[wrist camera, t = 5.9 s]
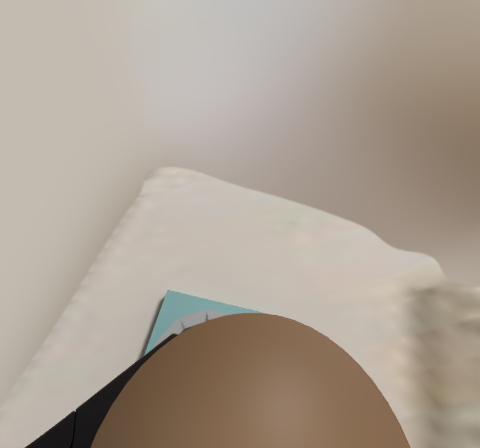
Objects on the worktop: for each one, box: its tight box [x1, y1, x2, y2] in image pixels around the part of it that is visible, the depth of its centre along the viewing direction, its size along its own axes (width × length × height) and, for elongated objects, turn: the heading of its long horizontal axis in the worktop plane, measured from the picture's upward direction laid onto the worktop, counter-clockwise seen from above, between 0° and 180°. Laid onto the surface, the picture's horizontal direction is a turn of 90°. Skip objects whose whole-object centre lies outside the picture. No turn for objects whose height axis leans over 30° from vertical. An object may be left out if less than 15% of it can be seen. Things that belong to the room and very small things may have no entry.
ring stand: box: [144, 290, 266, 355], centre depth 18 cm, size 10×10×4 cm
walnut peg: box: [91, 313, 410, 448], centre depth 8 cm, size 4×4×11 cm
